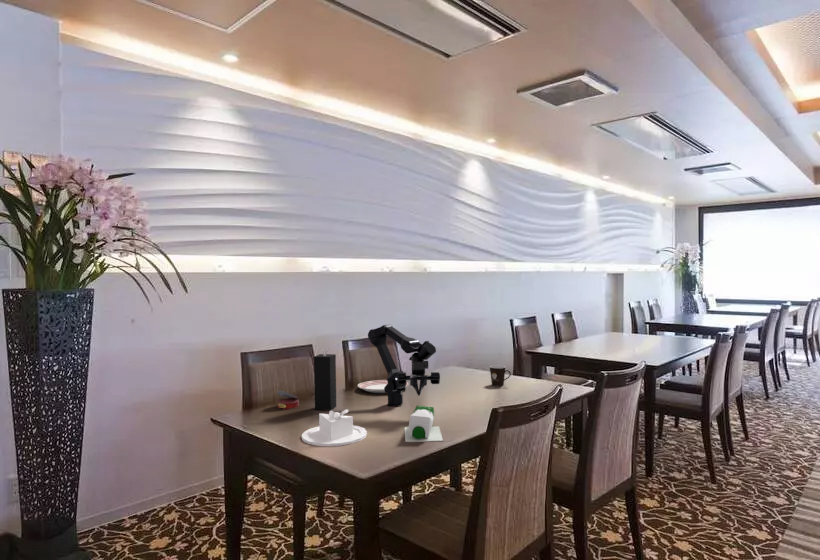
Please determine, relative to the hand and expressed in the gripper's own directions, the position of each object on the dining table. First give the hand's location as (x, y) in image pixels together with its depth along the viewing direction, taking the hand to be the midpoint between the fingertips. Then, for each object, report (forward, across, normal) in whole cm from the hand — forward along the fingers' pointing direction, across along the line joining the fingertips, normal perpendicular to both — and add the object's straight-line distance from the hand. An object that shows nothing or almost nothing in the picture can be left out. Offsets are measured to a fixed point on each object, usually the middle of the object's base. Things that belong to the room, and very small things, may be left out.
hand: (418, 395), depth 229 cm
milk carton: (+12, +2, -4) cm, 12 cm away
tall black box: (-6, -43, +22) cm, 48 cm away
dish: (+23, -33, -8) cm, 42 cm away
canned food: (-10, -61, +25) cm, 67 cm away
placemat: (+23, +1, -9) cm, 25 cm away
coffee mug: (-37, +46, +52) cm, 79 cm away
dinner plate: (-33, -18, +49) cm, 62 cm away
